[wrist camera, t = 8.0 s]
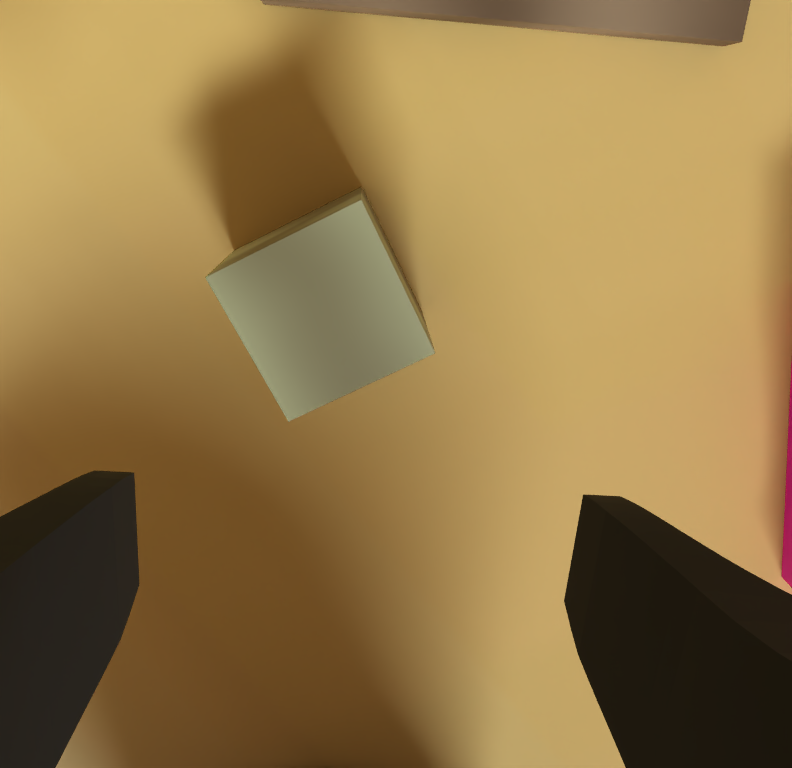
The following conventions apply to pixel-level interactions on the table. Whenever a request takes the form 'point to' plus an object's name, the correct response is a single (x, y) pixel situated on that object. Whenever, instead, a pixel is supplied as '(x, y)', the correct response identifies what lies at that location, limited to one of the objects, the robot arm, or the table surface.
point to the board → (571, 15)
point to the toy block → (788, 505)
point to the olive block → (322, 305)
